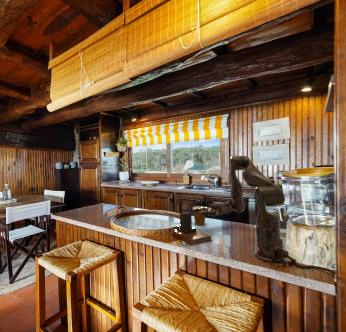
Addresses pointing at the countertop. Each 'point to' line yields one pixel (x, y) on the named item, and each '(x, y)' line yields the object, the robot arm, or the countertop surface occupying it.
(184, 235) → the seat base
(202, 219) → the disposable coffee cup
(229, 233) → the countertop surface
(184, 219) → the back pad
